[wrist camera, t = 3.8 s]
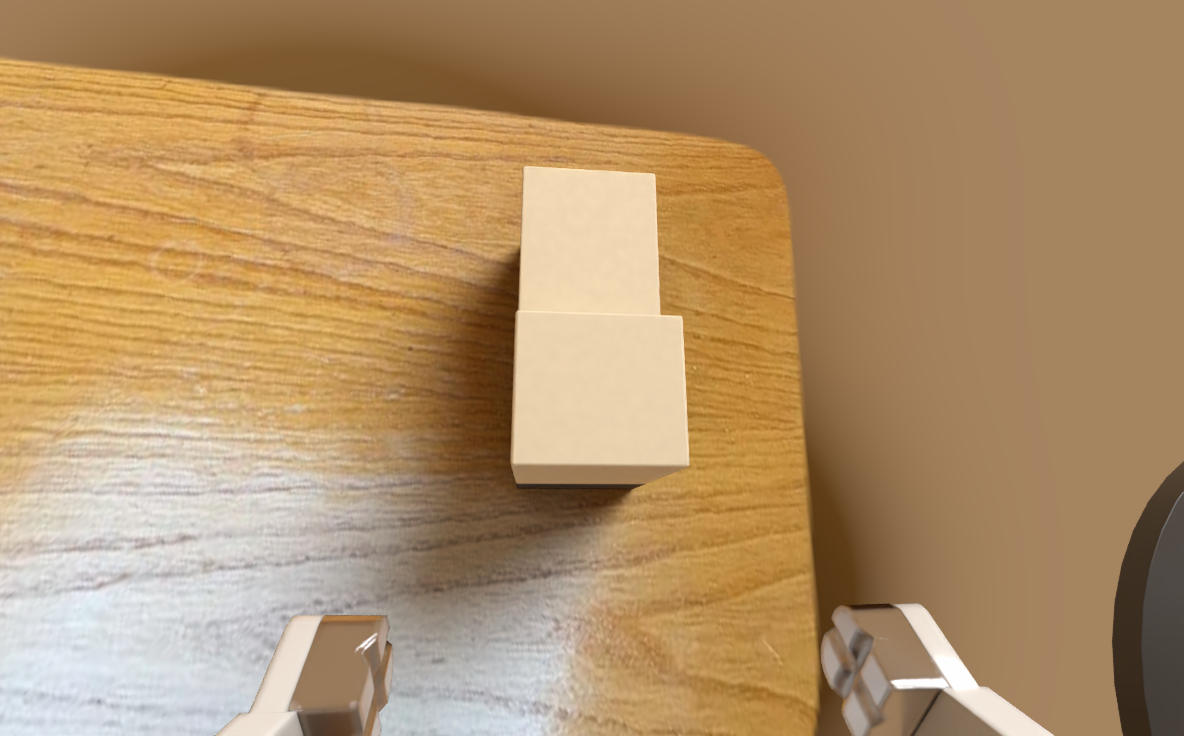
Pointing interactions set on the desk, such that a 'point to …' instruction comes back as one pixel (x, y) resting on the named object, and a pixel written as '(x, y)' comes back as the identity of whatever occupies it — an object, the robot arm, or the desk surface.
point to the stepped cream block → (594, 337)
